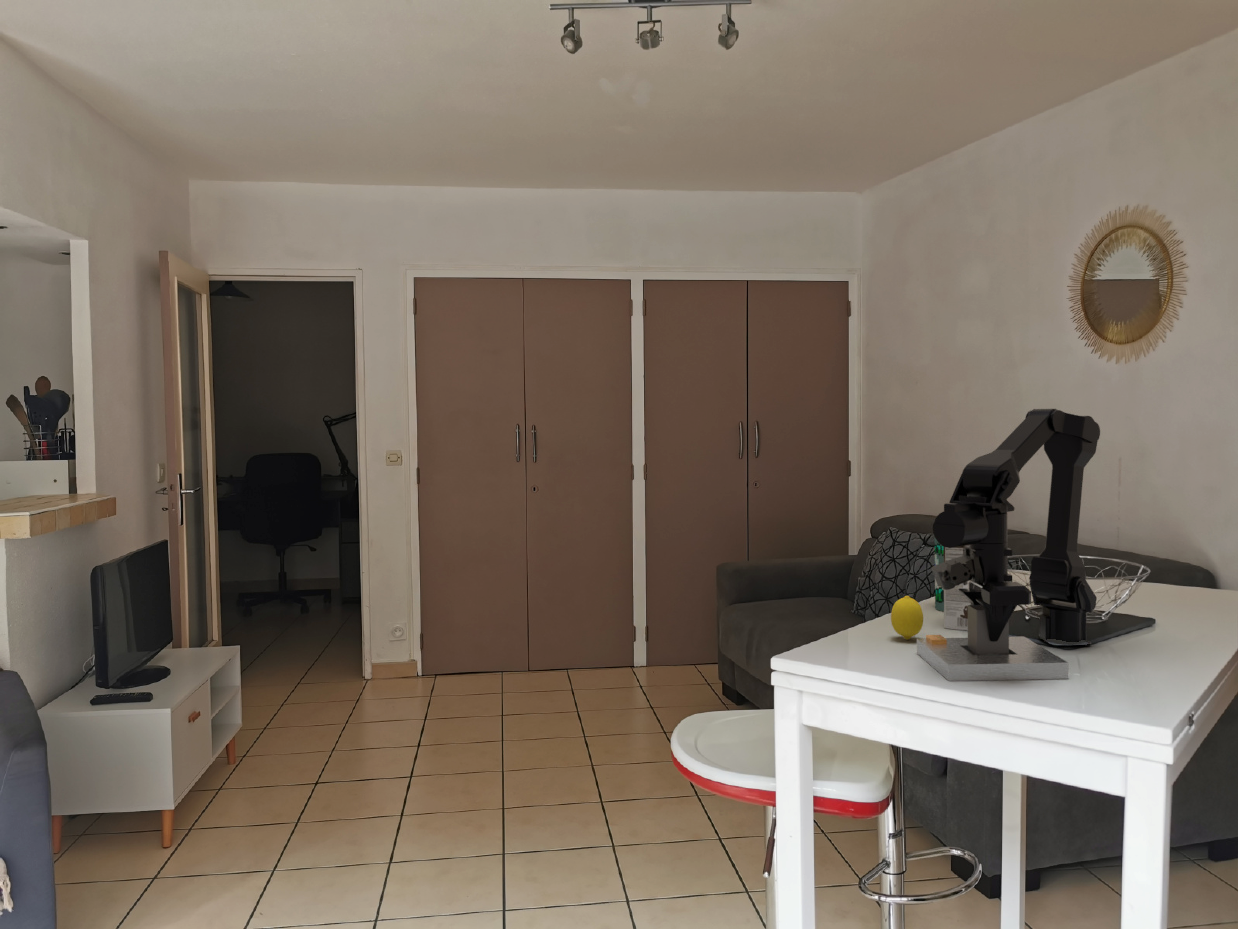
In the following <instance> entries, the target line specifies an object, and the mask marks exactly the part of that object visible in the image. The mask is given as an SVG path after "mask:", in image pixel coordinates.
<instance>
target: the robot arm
mask: <svg viewBox="0 0 1238 929" xmlns="http://www.w3.org/2000/svg"><path fill="white" fill-rule="evenodd" d="M1100 437H1101V427H1100V425H1099V423H1097V422H1096V421H1095V420H1094V418H1093V417H1092V416H1090V415H1077V414H1074V413H1073V414H1072V413H1068V412H1065V411H1062V410H1060V409H1057V408H1033V409H1031V410H1029V411H1027V413H1026V414H1025V419H1024V420H1023V421H1021V423H1020V424H1019V425H1018V426H1016V427H1015V429H1014V430H1013V431H1012V432H1011V433H1010V434H1009V435H1008V436H1007V437H1006V438H1005V440H1003V441H1002V442H1001V444H999V446H998V447H997V448H996V449H995V450H993V451H991V452H989V453H986V454H983V455H980V456H977V457H976V458H974V459H973V460H971V461H970V462H968V463H967V465H965V467H964V468H963V470H962V472H961V474H960V477H959V479H958V481H957V483H956V486H955V488H954V490H953V493H952V495H951V497H950V500H949V501H948V503H947V502H945V503H944V504H943V511H941V512H940V513H938V515H936V517H935V519H934V521H933V523H932V534H933V536H934V539H935V538H936V540H937V541H938V542H939V543H940V544H941V545H942V546H944V547H947V548H954V547H960V546H965V548H963V556H960V557H957V558H954V559H951V560H948V561H945V562H943V563H940V564H938V565H935V564H934V565H933V566H931V568H930V569H931V571H932V574H933V576H934V580H935V579H936V582H937V585H938V586H941V587H942V588H943V589H944V590H949V589H952V588H954V587H955V586H957V585H959V584H962V583H963V589H959V591H960V592H961V593H962V594H963V595H965V596H966V597H967V598H968V599H969V600H970V603H971V605H981V606H982V607H983V608H984V609H985V614H986V621H987V628H988V634H989V639H990V641H992V642H995V641H998V639H999V637H1000V635H1001V633H1002V631H1003V630H1004V628H1005V626H1006V624H1007V622H1008V620H1009V621H1010V618H1011V617H1012V614H1014V611H1015V610H1016V608H1017V606H1023V605H1024V606H1025V605H1032V602H1033V604H1034V606H1036V607H1037V606H1041V610H1042V611H1041V613H1042V614H1040V615H1039V633H1038V635H1039V636H1041V637H1043V638H1045V639H1046V640H1047V639H1056V640H1062V641H1066V642H1079V641H1081V640H1086V641H1087V613H1093V611H1094V610H1095V609H1096V605H1097V598H1098V597H1097V596H1096V594H1095V593H1094V591H1093V589H1092V588H1091V586H1090V585H1089V583H1088V582H1087V580H1086V579H1087V577H1086V572H1087V571H1086V566H1085V564H1084V562H1083V560H1082V559H1081V556H1080V555H1079V553H1078V541H1079V540H1078V539H1079V529H1080V528H1079V527H1080V517H1081V516H1080V515H1081V504H1082V503H1081V502H1082V494H1083V483H1084V481H1083V480H1084V469H1085V467H1086V466H1087V464H1088V463H1089V462H1090V461H1091V459H1092V458H1093V457H1094V456H1095V454H1096V452H1097V448H1098V447H1097V446H1098V442H1099V439H1100ZM1042 447H1043V450H1044V452H1045V454H1046V457H1047V458H1048V460H1049V462H1050V464H1051V466H1052V468H1051V478H1050V490H1049V501H1048V502H1049V503H1048V512H1047V523H1046V536H1045V537H1046V538H1045V546H1044V548H1043V550H1042V551H1041V552H1040V554H1039V555H1038V556H1032V558H1031V564H1030V575H1029V578H1028V580H1029V588H1030V589H1029V588H1028V587H1027V586H1025V585H1024V584H1022V583H1020V582H1017V581H1013V575H1012V574H1010V573H1008V571H1009V570H1008V565H1009V564H1008V561H1009V560H1008V557H1011V556H1013V549H1012V548H1009V547H1008V513H1011V512H1014V511H1015V509H1016V508H1015V507H1014V505H1013V504H1012V503H1010V502H1009V501H1008V499H1009V498H1010V497H1011V496H1012V494H1013V493H1014V491H1015V490H1016V489H1017V487H1018V485H1019V484H1020V482H1021V480H1020V471H1021V470H1022V469H1023V468H1024V466H1025V465H1026V464H1028V462H1029V461H1030V460H1031V459H1032V458H1033V456H1035V455H1036V454H1037V452H1039V450H1040V449H1041V448H1042ZM966 545H969V546H966ZM1091 646H1092V642H1090V643H1088V644H1087V645H1085V646H1084V647H1091Z"/></svg>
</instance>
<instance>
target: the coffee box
mask: <svg viewBox="0 0 1238 929" xmlns="http://www.w3.org/2000/svg"><path fill="white" fill-rule="evenodd" d="M966 546H969V545H966ZM963 548H965V546H960V547H954V548H947V547H944V546H943V551H944V562H945V561H948V560H951V559H954V558H957V557H960V556H963ZM959 589H963V583H962V584H959V585H957V586H955V587H954V588H952V589H949V590H944V612H943V623H944V624H943V627H944V629H947V630H957V631H958V630H959V631H967V632H968V605H971V603H970V600H969V599H968V598H967V597H966V596H965V595H963V594H962V593H961V592H960V591H959Z"/></svg>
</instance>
